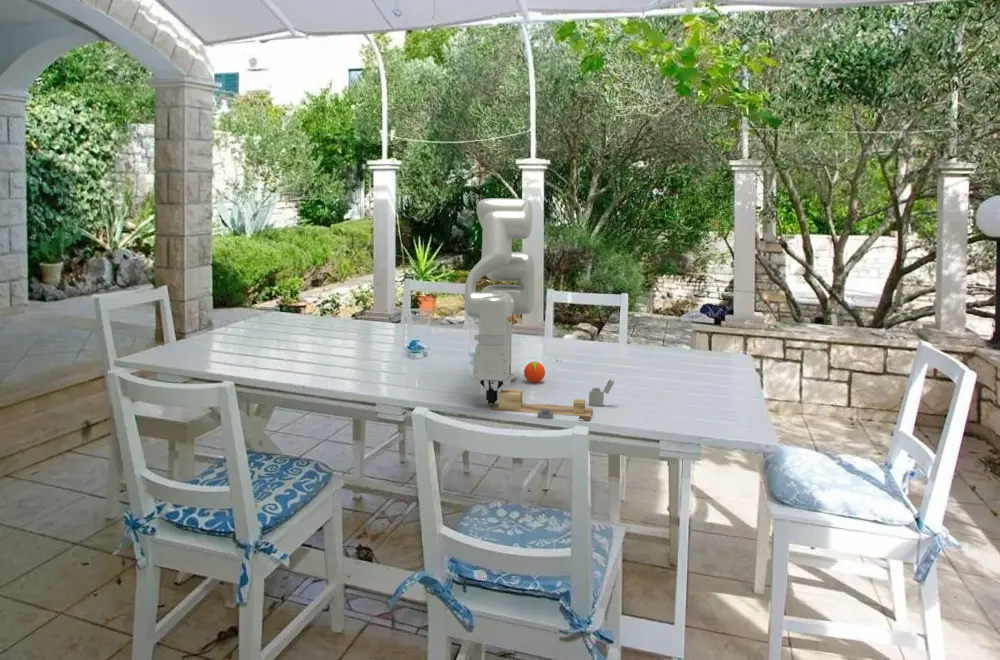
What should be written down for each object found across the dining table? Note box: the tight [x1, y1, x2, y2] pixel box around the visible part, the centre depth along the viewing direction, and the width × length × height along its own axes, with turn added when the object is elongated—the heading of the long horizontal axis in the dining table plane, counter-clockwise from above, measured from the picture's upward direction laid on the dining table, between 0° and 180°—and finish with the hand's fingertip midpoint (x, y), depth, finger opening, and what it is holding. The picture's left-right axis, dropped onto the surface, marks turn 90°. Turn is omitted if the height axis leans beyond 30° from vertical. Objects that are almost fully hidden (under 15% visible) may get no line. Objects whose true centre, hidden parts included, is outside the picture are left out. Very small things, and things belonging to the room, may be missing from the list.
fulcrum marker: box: [537, 408, 554, 420], centre depth 202 cm, size 2×4×3 cm, turn 79°
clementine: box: [523, 361, 546, 384], centre depth 244 cm, size 8×7×7 cm
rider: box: [498, 388, 524, 410], centre depth 211 cm, size 5×6×4 cm
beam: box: [490, 398, 594, 421], centre depth 210 cm, size 12×28×4 cm, turn 79°
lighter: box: [588, 378, 615, 407], centre depth 218 cm, size 7×2×8 cm, turn 86°
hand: (491, 402), depth 212 cm, fingers closed
